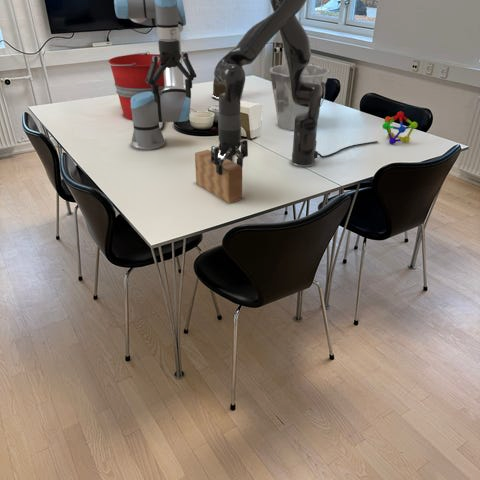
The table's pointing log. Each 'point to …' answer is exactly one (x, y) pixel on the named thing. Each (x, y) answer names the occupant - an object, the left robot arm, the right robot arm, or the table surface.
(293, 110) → the bucket
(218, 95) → the bell
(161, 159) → the table surface
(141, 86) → the bucket
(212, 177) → the box
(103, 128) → the table surface
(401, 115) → the educational toy
